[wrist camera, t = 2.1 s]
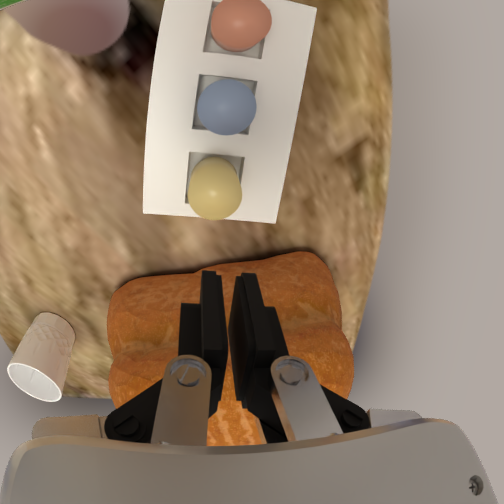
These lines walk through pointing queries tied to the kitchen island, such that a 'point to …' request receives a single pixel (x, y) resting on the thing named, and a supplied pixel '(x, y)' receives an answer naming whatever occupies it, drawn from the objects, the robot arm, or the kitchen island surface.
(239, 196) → the mustard button
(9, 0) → the skincare box
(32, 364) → the white cup
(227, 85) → the slate button
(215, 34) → the rust button
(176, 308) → the bread
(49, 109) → the kitchen island surface
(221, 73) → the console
